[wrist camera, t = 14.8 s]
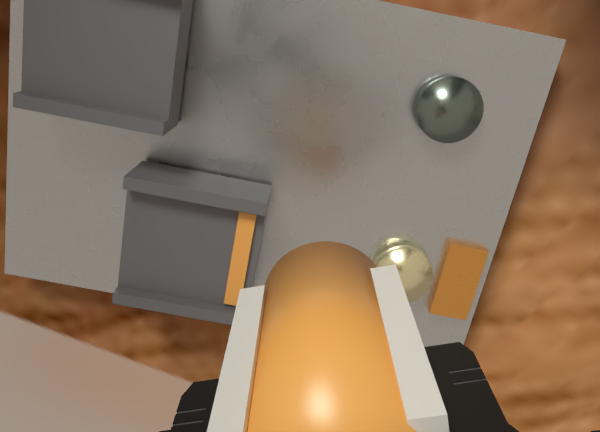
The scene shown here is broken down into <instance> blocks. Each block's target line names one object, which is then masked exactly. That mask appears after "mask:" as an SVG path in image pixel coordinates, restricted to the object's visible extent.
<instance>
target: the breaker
mask: <svg viewBox="0 0 600 432" xmlns="http://www.w3.org/2000/svg"><path fill="white" fill-rule="evenodd" d="M192 6H193V0H24V11H23V46H22V80H21V91H19V92H15V93H13V107H15V108H20V109H25V110H30V111H35V112H40V113H45V114H51V115H56V116H61V117H66V118H71V119H76V120H81V121H86V122H92V123H97V124H102V125H107V126H112V127H117V128H122V129H127V130H132V131H138V132H143V133H148V134H153V135H158V136H164V135H165V134H166V133H168V132H169V131H170V130H171V129H173V128H174V127H175V126H177V125H178V120H179V112H180V104H181V96H182V88H183V79H184V71H185V63H186V55H187V47H188V39H189V31H190V23H191V14H192Z"/></svg>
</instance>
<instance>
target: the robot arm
mask: <svg viewBox="0 0 600 432" xmlns="http://www.w3.org/2000/svg"><path fill="white" fill-rule="evenodd" d="M370 271H371V276H372V280H373V284H374V288H375V292H376V296H377V301H378V305H379V309H380V313H381V317H382V321H383V325H384V329H385V333H386V338H387V342H388V346H389V350H390V354H391V358H392V362H393V366H394V370H395V375H396V379H397V383H398V387H399V391H400V395H401V399H402V403H403V407H404V412H405V416H406V420H407V424H408V425H409V426H411V427H412V428H413V429H414V430H415V431H417V432H519V431H517V430H516V429H515V428H514V427H512V426H511V425H509V424H508V423H507V421H506V419H505V417H504V415H503V413H502V411H501V408H500V406H499V404H498V402H497V400H496V398H495V396H494V394H493V392H492V390H491V388H490V386H489V384H488V382H487V381H486V377H485V375H484V373H483V371H482V369H481V368H480V365H479V363H478V361H477V359H476V357H475V355H474V353H473V352H472V351H471V350H469V349H468V348H467V347H465V346H464V345H463V344H462V343H460V342H455V343H448V344H441V345H434V346H428V347H424V345H423V342H422V339H421V337H420V334H419V331H418V328H417V325H416V322H415V319H414V316H413V313H412V310H411V308H410V305H409V302H408V299H407V296H406V293H405V290H404V287H403V284H402V282H401V279H400V276H399V273H398V270H397V267H396V264H395V265H389V266H383V267H376V268H370ZM265 300H266V288H265V285H262V286H256V287H250V288H244V289H240V292H239V296H238V301H237V305H236V309H235V313H234V318H233V322H232V326H231V331H230V335H229V339H228V343H227V348H226V352H225V356H224V360H223V365H222V369H221V373H220V377H219V379H213V380H206V381H199V382H193V383H192V385H191V386H190V387H189V388H188V390H187V391H186V392H185V393H184V394H183V395H182V397H181V400H180V403H179V406H178V409H177V414H176V416H175V418H174V422H173V427H172V428H171V430H167V431H160V432H247V429H248V422H249V414H250V407H251V400H252V393H253V386H254V379H255V372H256V364H257V357H258V350H259V343H260V336H261V329H262V322H263V315H264V307H265ZM591 432H600V430H598V431H591Z"/></svg>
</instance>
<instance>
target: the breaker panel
mask: <svg viewBox="0 0 600 432" xmlns="http://www.w3.org/2000/svg"><path fill="white" fill-rule="evenodd" d="M23 11H24V0H10V42H9V89H8V135H7V182H6V229H5V274H10V275H16V276H21V277H27V278H32V279H38V280H43V281H49V282H54V283H60V284H65V285H71V286H76V287H82V288H87V289H93V290H98V291H104V292H109V293H113V292H114V290H115V289H116V288H117V286H118V278H119V268H120V258H121V247H122V237H123V226H124V216H125V206H126V195H127V190H125V189H123V180H124V176H125V175H126V174H127V173H128V172H130V171H131V170H132V169H133V168H134V167H135V166H137V165H138V164H139V163H140V162H141V161H148V162H153V163H158V164H163V165H168V166H174V167H179V168H184V169H189V170H194V171H199V172H205V173H210V174H215V175H220V176H225V177H231V178H236V179H241V180H246V181H251V182H256V183H262V184H267V185H272V186H271V192H270V197H269V203H268V208H267V213H266V219H265V224H264V230H263V235H262V240H261V246H260V251H259V257H258V262H257V267H256V273H255V278H254V284H253V287H256V286H262V285H265V283H266V279H267V277H268V275H269V273H270V271H271V270H272V268H273V266H274V265H275V264H276V263H277V262H278V260H280V259H281V258H282V257H283V256H284V255H285V254H287V253H288V252H290V251H291V250H293V249H295V248H297V247H299V246H302V245H305V244H308V243H313V242H320V241H331V242H339V243H342V244H346V245H349V246H351V247H354V248H356V249H358V250H359V251H361V252H362V253H364V254H365V255H366V256H368V257H369V258H370V259H371V260H372V261H373V262H374V264H375V265H376V266H377V267H383V266H389V265H395V264H396V267H397V270H398V273H399V276H400V279H401V282H402V284H403V287H404V290H405V293H406V296H407V299H408V302H409V305H410V308H411V310H412V313H413V316H414V319H415V322H416V325H417V328H418V331H419V334H420V337H421V339H422V342H423V345H424V347H428V346H434V345H441V344H448V343H455V342H460V343H462V344H463V345H464V342H465V339H466V336H467V333H468V330H469V327H470V324H471V321H472V318H473V315H474V312H475V309H476V307H477V304H478V301H479V298H480V295H481V292H482V289H483V286H484V283H485V280H486V277H487V274H488V271H489V268H490V265H491V262H492V259H493V256H494V253H495V250H496V247H497V244H498V241H499V238H500V235H501V232H502V229H503V226H504V223H505V221H506V218H507V215H508V212H509V209H510V206H511V203H512V200H513V197H514V194H515V191H516V188H517V185H518V182H519V179H520V176H521V173H522V170H523V167H524V164H525V161H526V158H527V155H528V152H529V149H530V146H531V143H532V140H533V137H534V135H535V132H536V129H537V126H538V123H539V120H540V117H541V114H542V111H543V108H544V105H545V102H546V99H547V96H548V93H549V90H550V87H551V84H552V81H553V78H554V75H555V72H556V69H557V66H558V63H559V60H560V57H561V54H562V52H563V49H564V46H565V43H566V40H565V39H561V38H556V37H551V36H546V35H541V34H537V33H532V32H527V31H522V30H518V29H513V28H508V27H503V26H498V25H494V24H489V23H484V22H479V21H475V20H470V19H465V18H460V17H455V16H451V15H446V14H441V13H436V12H431V11H427V10H422V9H417V8H412V7H408V6H403V5H398V4H393V3H388V2H384V1H379V0H193V6H192V14H191V23H190V31H189V39H188V47H187V55H186V63H185V71H184V79H183V88H182V96H181V104H180V112H179V120H178V125H177V126H175V127H174V128H173V129H171V130H170V131H169V132H168V133H166V134H165V135H164V136H158V135H153V134H148V133H143V132H138V131H132V130H127V129H122V128H117V127H112V126H107V125H102V124H97V123H92V122H86V121H81V120H76V119H71V118H66V117H61V116H56V115H51V114H45V113H40V112H35V111H30V110H25V109H20V108H15V107H13V93H15V92H19V91H21V80H22V46H23Z"/></svg>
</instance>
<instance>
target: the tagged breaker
mask: <svg viewBox="0 0 600 432" xmlns="http://www.w3.org/2000/svg"><path fill="white" fill-rule="evenodd" d="M271 186H272V185H267V184H262V183H256V182H251V181H246V180H241V179H236V178H231V177H225V176H220V175H215V174H210V173H205V172H199V171H194V170H189V169H184V168H179V167H174V166H168V165H163V164H158V163H153V162H148V161H141V162H140V163H139V164H138V165H137V166H135V167H134V168H133V169H132V170H131V171H130V172H128V173H127V174H126V175H125V176H124V180H123V189H125V190H127V195H126V206H125V216H124V226H123V237H122V247H121V258H120V268H119V278H118V286H117V288H116V289H115V290H114V292H113V297H112V304H117V305H122V306H128V307H133V308H139V309H144V310H150V311H155V312H161V313H166V314H172V315H177V316H183V317H188V318H194V319H199V320H205V321H210V322H216V323H222V324H227V325H232V322H233V318H234V313H235V309H236V305H237V301H238V296H239V292H240V289H244V288H250V287H253V284H254V278H255V273H256V267H257V262H258V257H259V251H260V246H261V240H262V235H263V230H264V224H265V219H266V213H267V208H268V203H269V197H270V192H271Z"/></svg>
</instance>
